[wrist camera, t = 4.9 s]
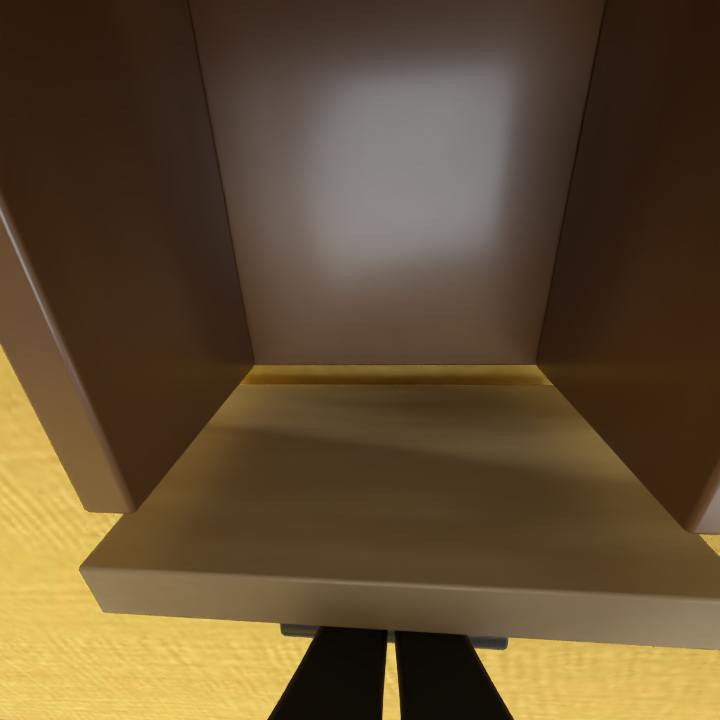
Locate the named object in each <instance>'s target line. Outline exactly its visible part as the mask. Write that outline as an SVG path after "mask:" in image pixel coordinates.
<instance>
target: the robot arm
mask: <svg viewBox="0 0 720 720" xmlns="http://www.w3.org/2000/svg"><path fill="white" fill-rule="evenodd" d="M394 637H395V649H396V660H397V672H398V684H399V696H400V712H401V720H514V719H513V717H512V715H511V714H510V712H509V710H508V709H507V707H506V705H505V703H504V702H503V700H502V698H501V696H500V695H499V693H498V691H497V689H496V688H495V686H494V684H493V682H492V681H491V679H490V677H489V675H488V673H487V672H486V670H485V668H484V666H483V664H482V662H481V661H480V659H479V657H478V655H477V653H476V651H475V649H474V647H473V646H472V644H471V642H470V640H469V638H468V636H467V635H463V634H447V633H430V632H414V631H398V630H394ZM387 638H388V630H381V629H365V628H349V627H332V626H320V627H319V629H318V631H317V633H316V635H315V637H314V638H313V640H312V642H311V644H310V646H309V648H308V650H307V652H306V654H305V655H304V657H303V659H302V661H301V663H300V665H299V666H298V668H297V670H296V672H295V673H294V675H293V677H292V679H291V680H290V682H289V684H288V686H287V687H286V689H285V691H284V693H283V694H282V696H281V698H280V700H279V701H278V703H277V705H276V706H275V708H274V710H273V711H272V713H271V715H270V716H269V718H268V719H267V720H382V713H383V692H384V679H385V665H386V652H387Z"/></svg>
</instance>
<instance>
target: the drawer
mask: <svg viewBox="0 0 720 720" xmlns="http://www.w3.org/2000/svg"><path fill="white" fill-rule="evenodd" d="M0 344H1V346H2V348H3V350H4V352H5V354H6V356H7V358H8V360H9V362H10V364H11V366H12V368H13V370H14V372H15V374H16V376H17V378H18V380H19V382H20V384H21V385H22V387H23V389H24V391H25V393H26V395H27V397H28V399H29V401H30V403H31V405H32V407H33V409H34V411H35V413H36V415H37V417H38V419H39V421H40V423H41V425H42V427H43V428H44V430H45V432H46V434H47V436H48V438H49V440H50V442H51V444H52V446H53V448H54V450H55V452H56V454H57V456H58V458H59V460H60V462H61V464H62V466H63V468H64V470H65V471H66V473H67V475H68V477H69V479H70V481H71V483H72V485H73V487H74V489H75V491H76V493H77V495H78V497H79V499H80V501H81V503H82V505H83V507H84V509H85V510H87V511H88V512H95V513H123V516H122V517H121V518H120V519H119V520H118V522H117V523H116V524H115V525H114V526H113V528H112V529H111V530H110V531H109V532H108V534H107V535H106V536H105V537H104V538H103V539H102V541H101V542H100V543H99V544H98V545H97V547H96V548H95V549H94V550H93V551H92V553H91V554H90V555H89V556H88V557H87V558H86V560H85V561H84V562H83V563H82V564H81V566H80V568H79V571H80V573H81V575H82V576H83V578H84V580H85V582H86V583H87V585H88V587H89V588H90V590H91V592H92V594H93V595H94V597H95V599H96V601H97V602H98V604H99V606H100V607H101V609H102V611H103V612H105V613H120V614H136V615H153V616H169V617H185V618H202V619H218V620H234V621H251V622H267V623H280V627H281V633H282V635H284V636H292V637H307V638H314V637H315V635H316V633H317V631H318V629H319V627H320V626H332V627H349V628H365V629H381V630H388V638H387V643H395V637H394V630H398V631H414V632H430V633H447V634H463V635H467V636H468V638H469V640H470V642H471V644H472V646H473V647H474V648H479V649H494V650H504V649H506V648H507V645H508V637H512V638H528V639H545V640H561V641H577V642H594V643H610V644H626V645H643V646H659V647H675V648H692V649H708V650H720V557H719V556H718V555H717V554H716V553H715V551H714V550H713V549H712V548H711V547H710V546H709V545H708V544H707V543H706V542H705V541H704V540H703V539H702V537H701V536H700V535H699V534H711V535H720V0H0ZM254 365H537V367H538V368H539V369H540V370H541V371H542V373H543V374H544V375H545V376H546V377H547V378H548V379H549V380H550V381H551V383H552V384H553V385H319V384H240V383H241V381H242V380H243V379H244V378H245V376H246V375H247V374H248V373H249V371H250V370H251V369H252V368H253V367H254Z"/></svg>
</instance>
